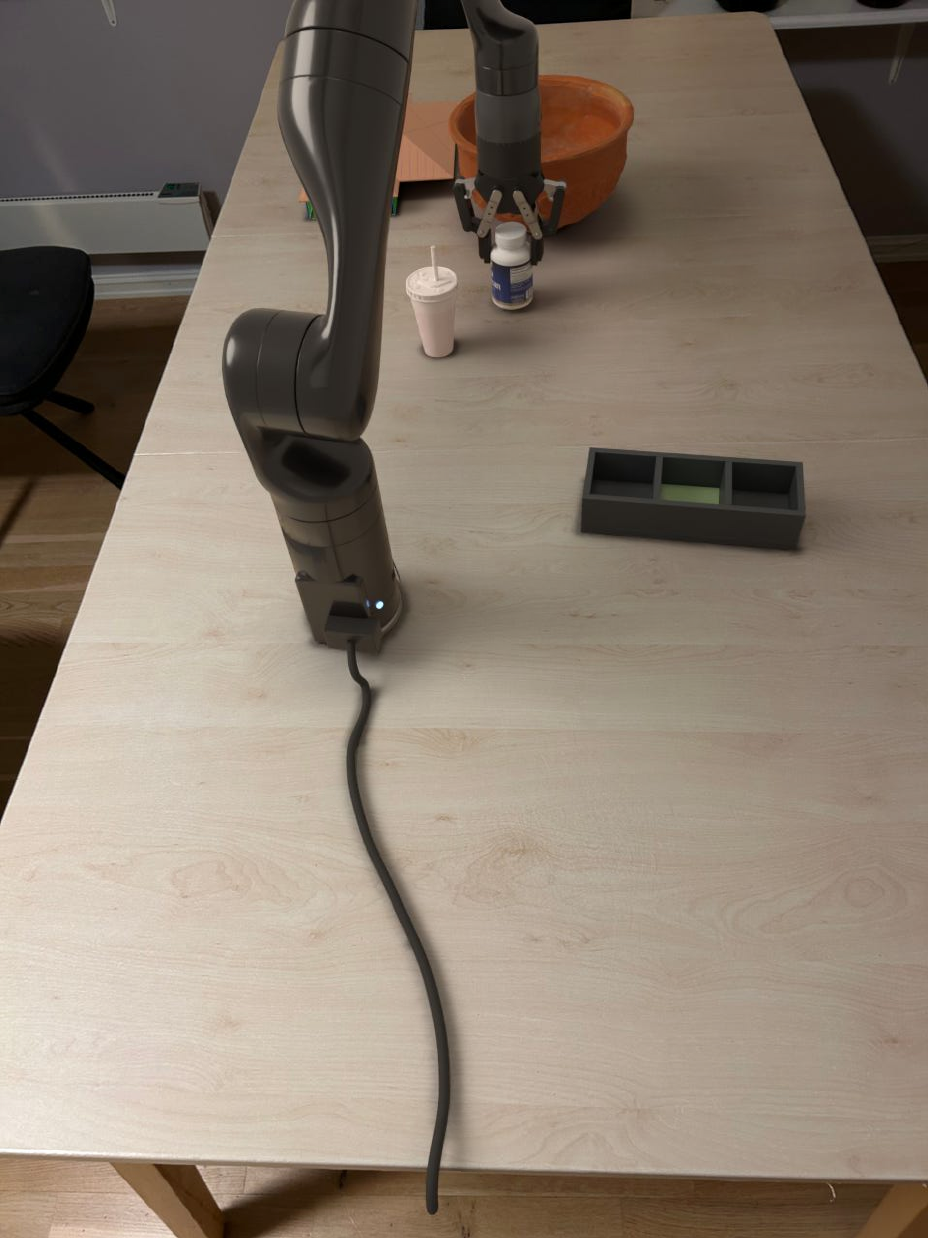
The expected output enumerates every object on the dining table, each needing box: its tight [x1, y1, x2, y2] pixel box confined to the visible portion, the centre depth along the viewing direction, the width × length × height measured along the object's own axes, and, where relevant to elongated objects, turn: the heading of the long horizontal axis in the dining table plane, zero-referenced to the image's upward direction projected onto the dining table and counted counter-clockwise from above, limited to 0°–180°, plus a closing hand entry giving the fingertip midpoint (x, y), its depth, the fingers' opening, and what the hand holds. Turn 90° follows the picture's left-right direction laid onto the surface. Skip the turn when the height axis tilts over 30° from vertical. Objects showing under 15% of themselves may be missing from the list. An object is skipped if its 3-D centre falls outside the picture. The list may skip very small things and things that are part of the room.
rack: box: [580, 446, 807, 551], centre depth 97 cm, size 8×22×5 cm, turn 80°
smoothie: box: [405, 245, 460, 358], centre depth 114 cm, size 6×6×14 cm
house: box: [298, 92, 459, 220], centre depth 147 cm, size 23×33×8 cm
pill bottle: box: [490, 222, 534, 311], centre depth 120 cm, size 5×5×10 cm
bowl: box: [448, 74, 635, 234], centre depth 131 cm, size 25×25×15 cm
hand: (511, 260), depth 120 cm, fingers closed on pill bottle, 5 cm apart
